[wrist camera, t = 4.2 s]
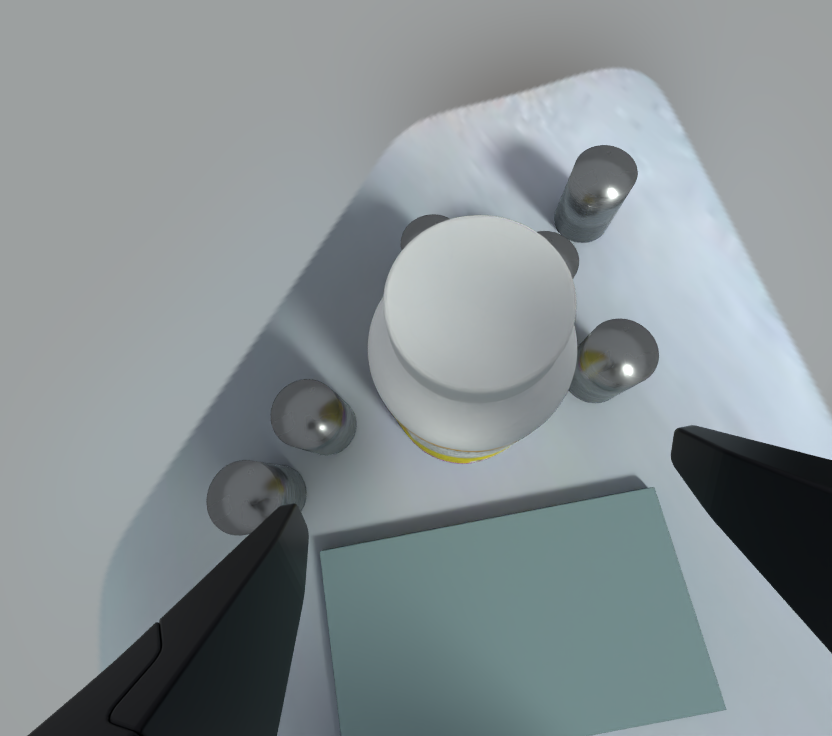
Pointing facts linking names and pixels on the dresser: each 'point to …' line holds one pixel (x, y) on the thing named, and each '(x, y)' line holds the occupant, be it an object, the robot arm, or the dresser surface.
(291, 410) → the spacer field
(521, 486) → the dresser surface
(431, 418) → the supplement bottle
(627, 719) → the rubber mat
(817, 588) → the robot arm
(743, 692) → the dresser surface
